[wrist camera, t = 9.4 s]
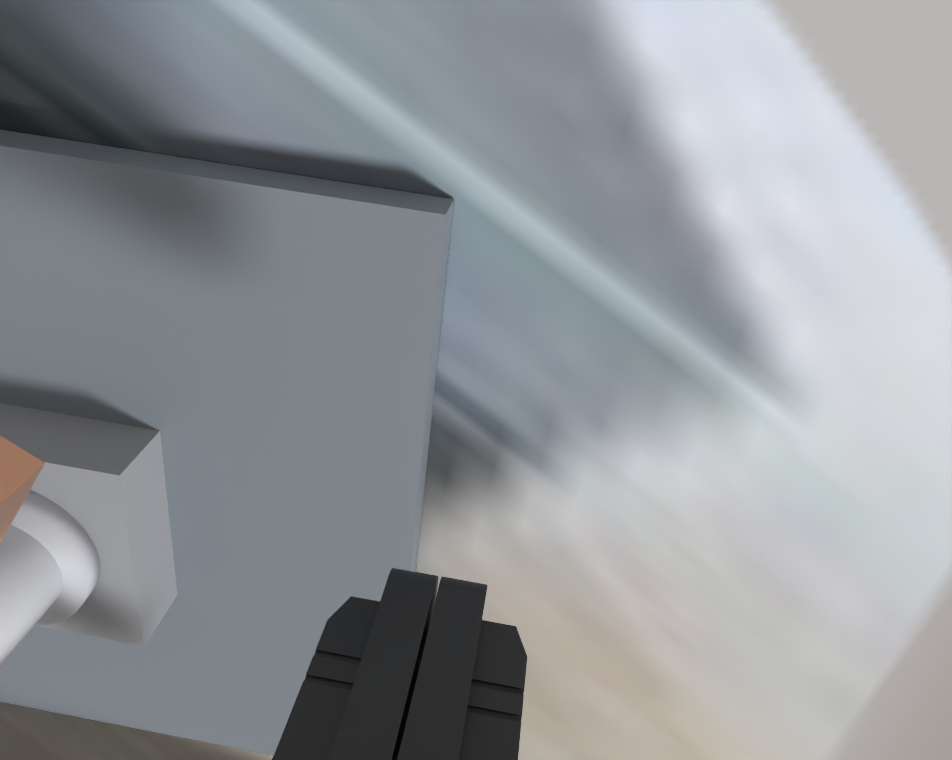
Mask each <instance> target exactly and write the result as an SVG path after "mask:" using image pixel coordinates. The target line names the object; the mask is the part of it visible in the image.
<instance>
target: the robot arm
mask: <svg viewBox="0 0 952 760" xmlns="http://www.w3.org/2000/svg"><path fill="white" fill-rule="evenodd" d="M437 586H438V576H434V575H429V574H423V573H418V572H413V571H407V570H402V569H396V568H392V569H391V571H390V573H389V576H388V579H387V582H386V585H385V588H384V591H383V594H382V597H381V600H380V601H374V600H369V599H363V598H358V597H353V596H351V597H350V598H349V599H348V600H347V601H346V602H345V603H344V604H343V605H342V606H341V607H340V608H339V609H338V610H337V611H336V612H335V613H334V614H333V615H332V616H331V617H330V618H329V619H328V620H327V622H326V625H325V627H324V630H323V632H322V635H321V637H320V640H319V642H318V645H317V647H316V651H315V655H314V656H313V658H312V660H311V663H310V665H309V668H308V670H307V673H306V677H305V680H304V681H303V683H302V685H301V688H300V691H299V693H298V696H297V698H296V701H295V703H294V706H293V708H292V711H291V713H290V716H289V718H288V721H287V723H286V726H285V728H284V731H283V734H282V736H281V739H280V741H279V744H278V746H277V749H276V751H275V754H274V756H273V759H272V760H518V751H519V740H520V729H521V716H522V707H523V696H524V695H523V693H524V685H525V674H526V663H527V655H526V653H525V650H524V647H523V644H522V642H521V639H520V636H519V634H518V631H517V628H516V626H511V625H505V624H500V623H494V622H489V621H484V620H482V615H483V609H484V603H485V597H486V591H487V585H485V584H480V583H474V582H469V581H463V580H458V579H452V578H447V577H441V580H440V584H439V588H438V592H437ZM436 594H437V597H436Z"/></svg>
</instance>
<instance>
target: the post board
mask: <svg viewBox="0 0 952 760" xmlns="http://www.w3.org/2000/svg"><path fill="white" fill-rule="evenodd" d="M453 206H454V199H450V198H444V197H437V196H431V195H424V194H418V193H411V192H405V191H398V190H392V189H385V188H378V187H372V186H365V185H359V184H352V183H346V182H339V181H333V180H326V179H320V178H313V177H307V176H300V175H294V174H287V173H281V172H274V171H268V170H261V169H255V168H248V167H242V166H235V165H228V164H222V163H215V162H209V161H202V160H196V159H189V158H183V157H176V156H170V155H163V154H157V153H150V152H144V151H137V150H131V149H124V148H118V147H111V146H105V145H98V144H92V143H85V142H78V141H72V140H65V139H59V138H52V137H46V136H39V135H33V134H26V133H20V132H13V131H7V130H0V436H2V437H3V438H5V439H7V440H8V441H10V442H12V443H13V444H15V445H17V446H18V447H20V448H21V449H23V450H25V451H26V452H28V453H30V454H31V455H33V456H35V457H36V458H38V459H39V460H41V461H43V462H44V463H45V464H44V466H43V468H42V469H41V471H40V473H39V475H38V477H37V478H36V480H35V482H34V484H33V486H32V487H31V489H30V491H29V493H28V495H27V496H26V498H25V500H24V502H23V504H22V505H21V507H20V509H19V511H18V513H17V514H16V516H15V518H14V520H13V522H12V523H11V525H10V527H9V529H8V531H7V532H6V534H5V536H4V538H3V540H2V541H1V543H0V702H4V703H9V704H14V705H20V706H25V707H30V708H35V709H40V710H45V711H50V712H55V713H60V714H65V715H70V716H75V717H80V718H85V719H90V720H95V721H100V722H106V723H111V724H116V725H121V726H126V727H131V728H136V729H141V730H146V731H151V732H156V733H161V734H166V735H171V736H176V737H181V738H186V739H192V740H197V741H202V742H207V743H212V744H217V745H222V746H227V747H232V748H237V749H242V750H247V751H252V752H257V753H262V754H267V755H272V756H274V754H275V751H276V749H277V746H278V744H279V741H280V739H281V736H282V734H283V731H284V728H285V726H286V723H287V721H288V718H289V716H290V713H291V711H292V708H293V706H294V703H295V701H296V698H297V696H298V693H299V691H300V688H301V685H302V683H303V681H304V680H305V677H306V673H307V670H308V668H309V665H310V663H311V660H312V658H313V656H314V655H315V651H316V647H317V645H318V642H319V640H320V637H321V635H322V632H323V630H324V627H325V625H326V622H327V620H328V619H329V618H330V617H331V616H332V615H333V614H334V613H335V612H336V611H337V610H338V609H339V608H340V607H341V606H342V605H343V604H344V603H345V602H346V601H347V600H348V599H349V598H350V597H351V596H353V597H358V598H363V599H369V600H374V601H380V600H381V597H382V594H383V591H384V588H385V585H386V582H387V579H388V576H389V573H390V571H391V569H392V568H396V569H402V570H407V571H413V572H416V565H417V555H418V546H419V536H420V526H421V517H422V507H423V497H424V487H425V478H426V468H427V458H428V449H429V439H430V429H431V420H432V410H433V400H434V390H435V381H436V371H437V361H438V352H439V342H440V332H441V323H442V313H443V303H444V294H445V284H446V274H447V264H448V255H449V245H450V235H451V226H452V216H453Z"/></svg>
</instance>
